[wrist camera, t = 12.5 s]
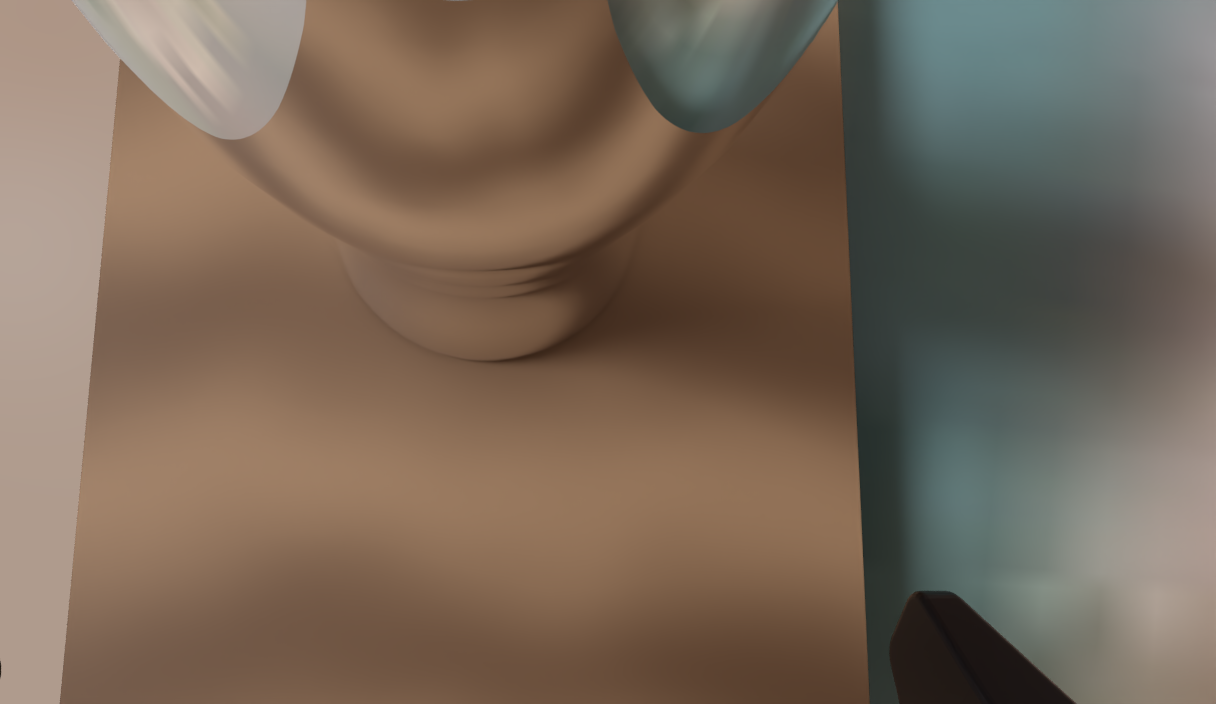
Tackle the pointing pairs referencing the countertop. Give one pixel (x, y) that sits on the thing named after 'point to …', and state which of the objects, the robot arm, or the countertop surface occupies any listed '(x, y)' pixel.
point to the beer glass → (468, 134)
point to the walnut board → (473, 454)
